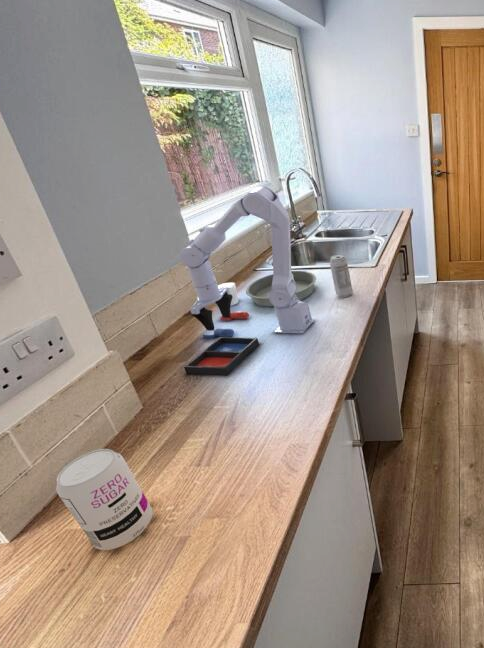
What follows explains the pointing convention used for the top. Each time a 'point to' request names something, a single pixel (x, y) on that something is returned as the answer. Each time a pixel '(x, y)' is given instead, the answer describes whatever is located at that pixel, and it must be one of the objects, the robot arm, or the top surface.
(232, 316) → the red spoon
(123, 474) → the supplement can
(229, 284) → the white cup
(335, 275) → the grey cylinder
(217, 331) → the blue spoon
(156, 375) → the top surface
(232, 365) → the black divided tray
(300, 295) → the cake pan
